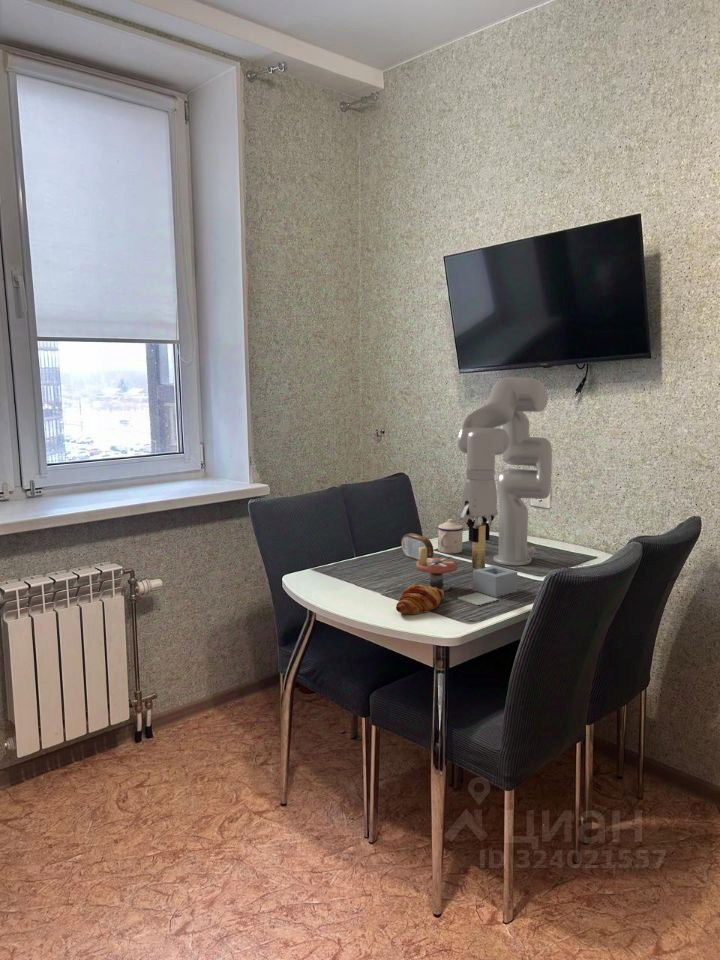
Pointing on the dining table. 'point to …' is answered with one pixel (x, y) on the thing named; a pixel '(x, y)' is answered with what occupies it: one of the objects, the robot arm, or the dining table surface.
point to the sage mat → (477, 598)
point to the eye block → (494, 581)
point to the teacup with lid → (450, 537)
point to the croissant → (419, 599)
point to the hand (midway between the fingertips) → (478, 540)
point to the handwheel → (434, 563)
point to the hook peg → (479, 548)
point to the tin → (416, 545)
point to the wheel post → (438, 582)
